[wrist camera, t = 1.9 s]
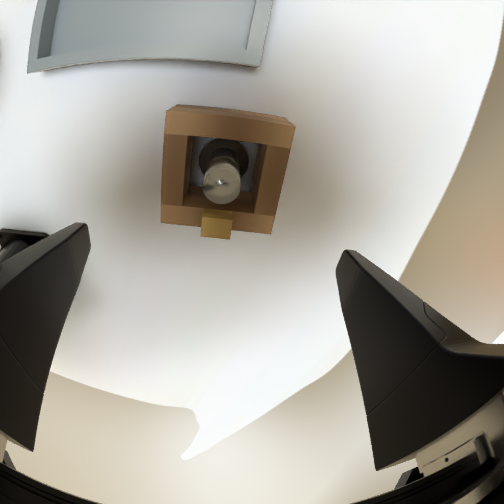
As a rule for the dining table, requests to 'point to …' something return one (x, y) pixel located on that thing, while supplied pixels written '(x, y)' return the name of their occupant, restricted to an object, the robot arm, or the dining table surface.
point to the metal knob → (223, 169)
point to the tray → (147, 31)
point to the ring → (192, 197)
